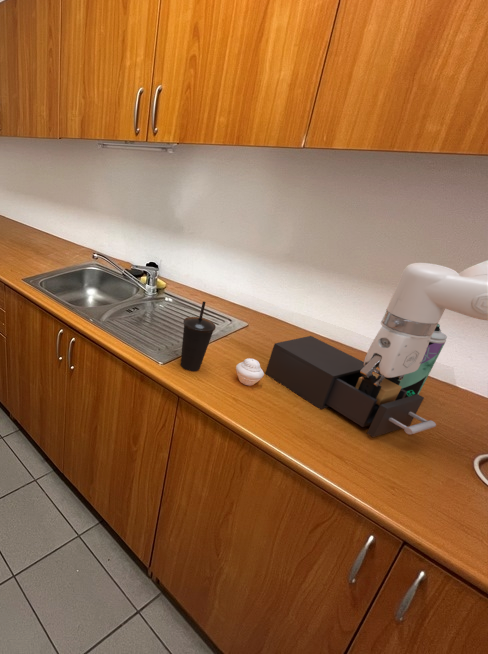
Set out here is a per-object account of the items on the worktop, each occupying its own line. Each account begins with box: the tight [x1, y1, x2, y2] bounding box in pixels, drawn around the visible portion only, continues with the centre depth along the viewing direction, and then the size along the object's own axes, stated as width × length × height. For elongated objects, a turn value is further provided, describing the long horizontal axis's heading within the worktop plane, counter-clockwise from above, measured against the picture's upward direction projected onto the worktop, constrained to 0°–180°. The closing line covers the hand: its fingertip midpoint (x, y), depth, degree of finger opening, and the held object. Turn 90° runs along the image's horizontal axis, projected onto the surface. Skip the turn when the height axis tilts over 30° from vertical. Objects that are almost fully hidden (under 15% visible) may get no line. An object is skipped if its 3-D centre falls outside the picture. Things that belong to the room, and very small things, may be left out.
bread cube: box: [355, 372, 402, 405], centre depth 87 cm, size 5×5×4 cm
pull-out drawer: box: [325, 372, 437, 438], centre depth 88 cm, size 18×11×8 cm, turn 16°
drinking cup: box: [180, 301, 217, 372], centre depth 106 cm, size 8×8×20 cm
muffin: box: [235, 357, 265, 387], centre depth 102 cm, size 6×6×7 cm
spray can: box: [399, 323, 448, 398], centre depth 94 cm, size 6×6×20 cm
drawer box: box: [264, 335, 364, 410], centre depth 99 cm, size 15×13×10 cm
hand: (375, 393), depth 87 cm, fingers closed on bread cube, 5 cm apart
